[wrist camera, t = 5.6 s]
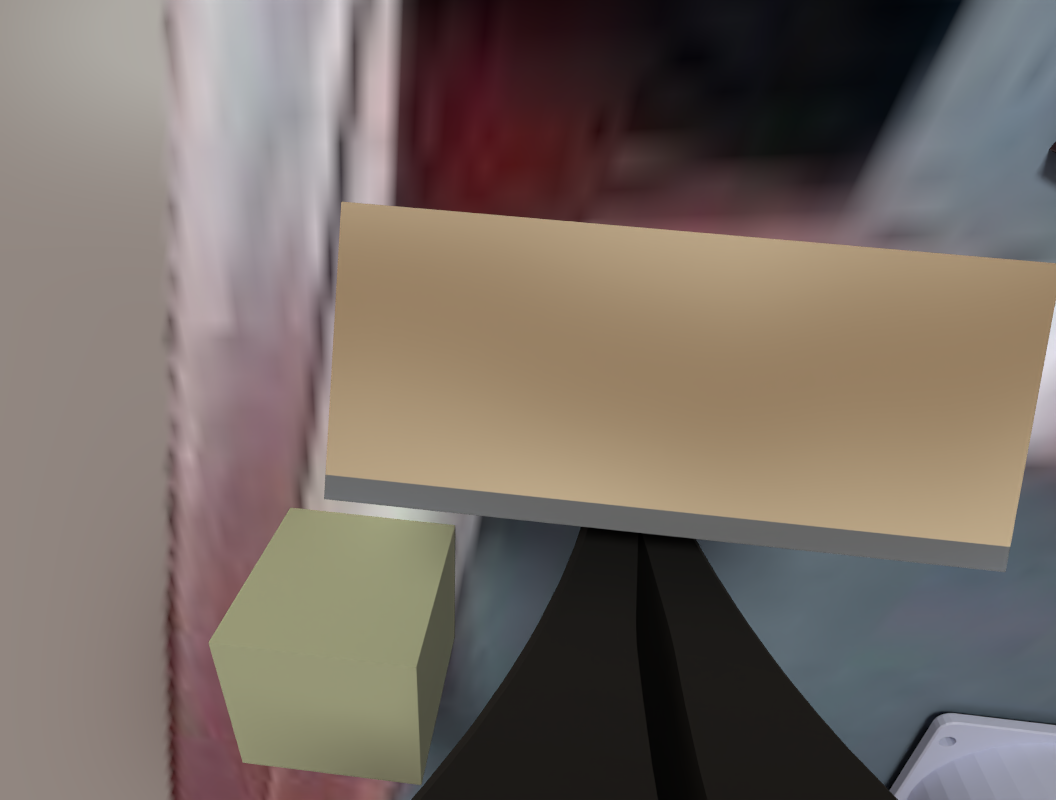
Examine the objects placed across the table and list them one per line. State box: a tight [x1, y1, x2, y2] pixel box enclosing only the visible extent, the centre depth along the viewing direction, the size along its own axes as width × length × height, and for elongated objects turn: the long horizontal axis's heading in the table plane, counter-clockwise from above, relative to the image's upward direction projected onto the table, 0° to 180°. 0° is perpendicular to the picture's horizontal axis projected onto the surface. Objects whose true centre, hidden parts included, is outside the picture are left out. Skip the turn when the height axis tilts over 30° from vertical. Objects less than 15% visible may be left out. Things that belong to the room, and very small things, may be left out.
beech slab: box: [324, 202, 1056, 572], centre depth 12 cm, size 4×8×8 cm, turn 87°
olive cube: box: [209, 508, 455, 785], centre depth 19 cm, size 5×5×5 cm
